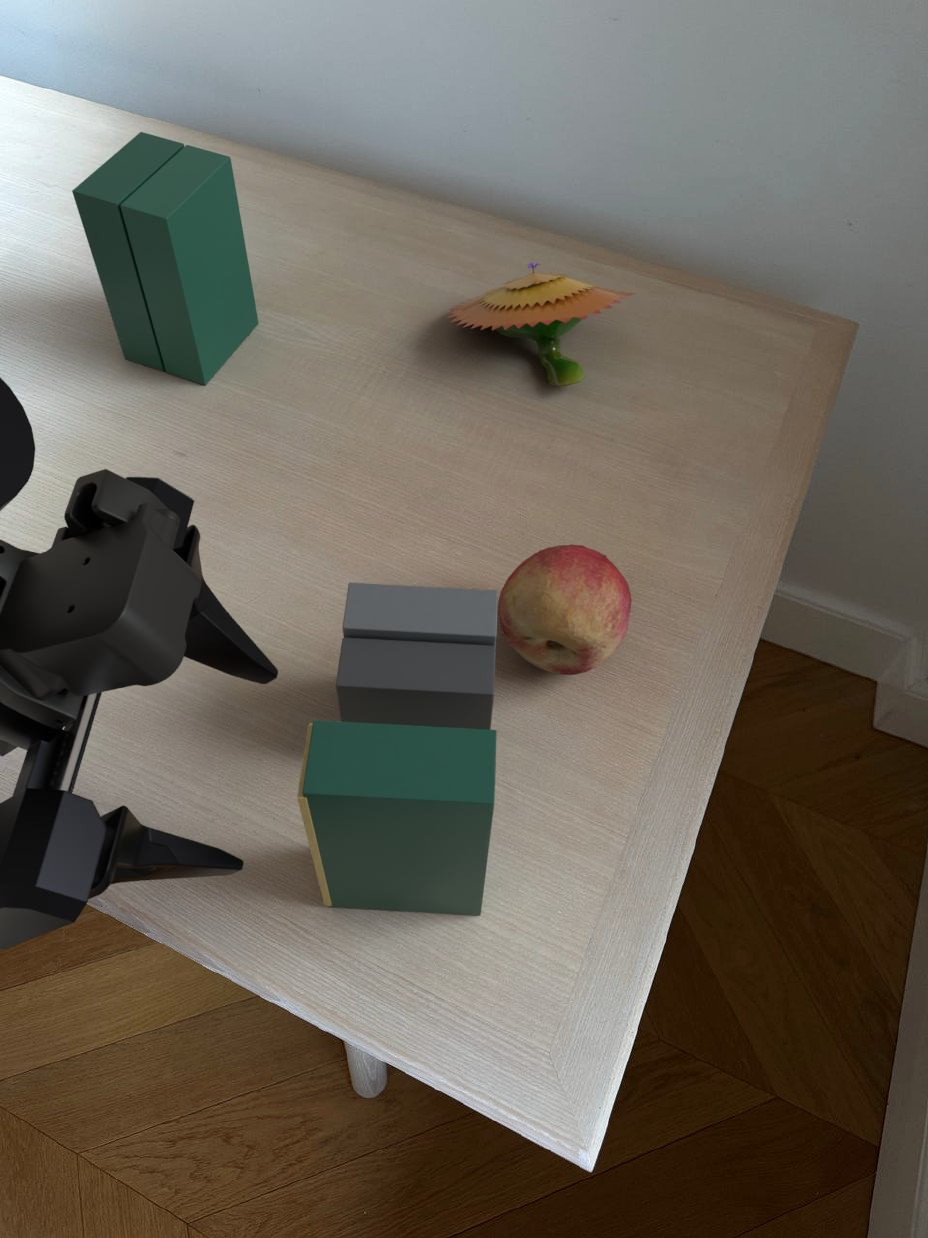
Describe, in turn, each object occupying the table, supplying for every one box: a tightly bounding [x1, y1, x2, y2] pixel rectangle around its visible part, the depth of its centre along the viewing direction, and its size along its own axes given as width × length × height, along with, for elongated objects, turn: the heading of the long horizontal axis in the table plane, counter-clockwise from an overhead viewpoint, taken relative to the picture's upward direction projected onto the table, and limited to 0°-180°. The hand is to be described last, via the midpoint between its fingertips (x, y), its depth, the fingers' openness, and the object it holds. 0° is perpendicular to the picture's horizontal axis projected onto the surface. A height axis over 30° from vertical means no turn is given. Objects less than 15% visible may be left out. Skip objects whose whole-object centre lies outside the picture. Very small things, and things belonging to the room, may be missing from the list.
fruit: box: [497, 543, 632, 676], centre depth 60 cm, size 8×8×8 cm
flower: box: [445, 262, 636, 387], centre depth 78 cm, size 15×13×8 cm
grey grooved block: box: [335, 582, 499, 730], centre depth 56 cm, size 8×6×10 cm
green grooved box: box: [71, 131, 259, 386], centre depth 73 cm, size 8×7×14 cm
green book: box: [296, 719, 498, 916], centre depth 48 cm, size 8×4×14 cm, turn 87°
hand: (256, 767), depth 44 cm, fingers open, 9 cm apart
